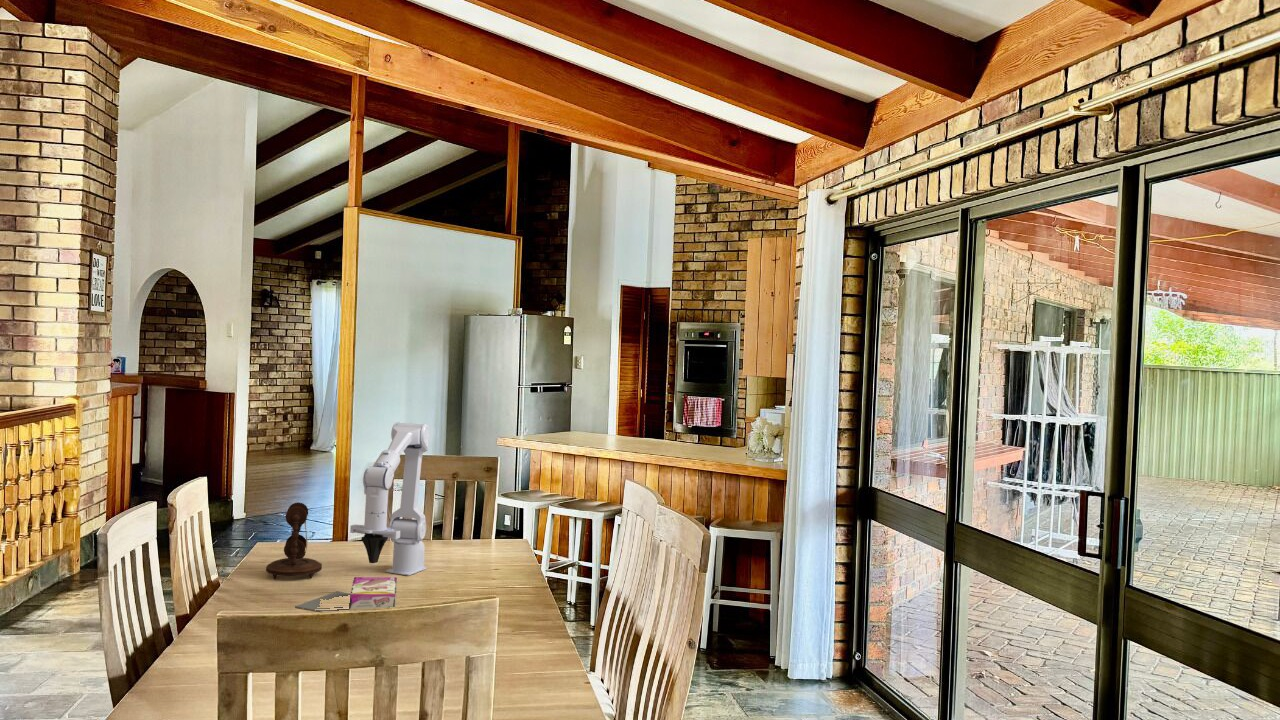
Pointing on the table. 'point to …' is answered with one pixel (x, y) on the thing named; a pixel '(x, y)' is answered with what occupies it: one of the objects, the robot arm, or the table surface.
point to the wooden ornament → (295, 548)
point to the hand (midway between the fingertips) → (373, 562)
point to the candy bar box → (373, 592)
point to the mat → (315, 603)
